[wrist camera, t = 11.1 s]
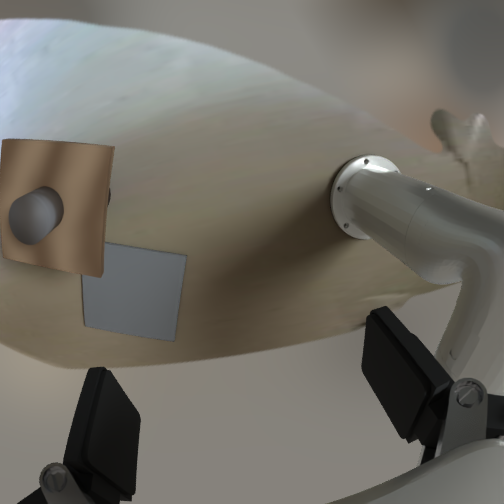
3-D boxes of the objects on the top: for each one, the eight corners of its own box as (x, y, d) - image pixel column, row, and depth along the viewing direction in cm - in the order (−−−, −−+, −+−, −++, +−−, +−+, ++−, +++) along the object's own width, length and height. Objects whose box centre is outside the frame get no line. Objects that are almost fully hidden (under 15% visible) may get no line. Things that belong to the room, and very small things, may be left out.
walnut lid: (114, 146, 24) (96, 151, 19) (103, 272, 29) (89, 299, 24) (8, 138, 21) (-21, 144, 16) (8, 253, 25) (-15, 274, 21)
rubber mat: (186, 255, 40) (186, 256, 40) (174, 339, 45) (174, 341, 45) (83, 238, 36) (82, 239, 36) (86, 324, 42) (85, 326, 41)
